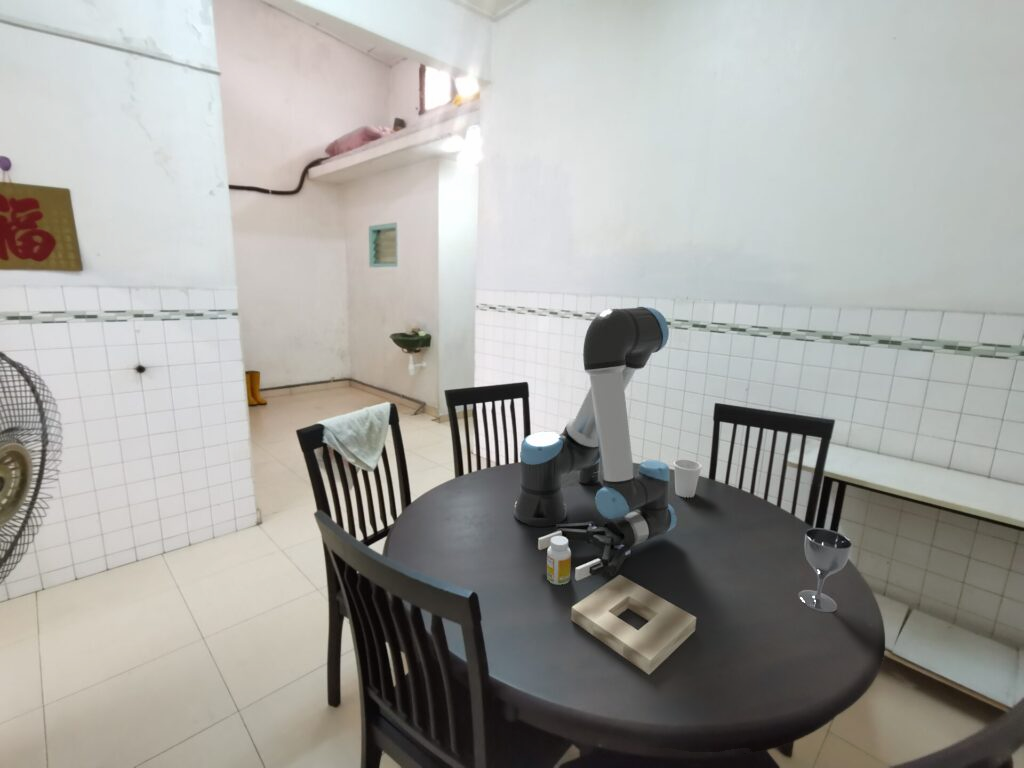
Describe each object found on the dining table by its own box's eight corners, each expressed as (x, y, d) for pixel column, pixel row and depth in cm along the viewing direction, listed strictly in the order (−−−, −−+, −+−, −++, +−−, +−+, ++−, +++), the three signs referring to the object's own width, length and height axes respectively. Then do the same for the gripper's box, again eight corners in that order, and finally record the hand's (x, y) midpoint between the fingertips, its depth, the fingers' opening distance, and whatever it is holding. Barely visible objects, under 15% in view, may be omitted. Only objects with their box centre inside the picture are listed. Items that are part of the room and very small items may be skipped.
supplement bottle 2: (598, 486, 156) (600, 452, 154) (577, 484, 158) (579, 450, 155) (599, 478, 163) (600, 444, 160) (579, 476, 164) (580, 443, 161)
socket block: (571, 619, 96) (571, 607, 95) (619, 586, 107) (619, 574, 106) (649, 674, 83) (650, 660, 82) (694, 630, 93) (696, 617, 93)
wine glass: (840, 619, 97) (852, 553, 93) (795, 604, 101) (805, 541, 97) (839, 597, 103) (850, 534, 100) (796, 584, 107) (806, 524, 104)
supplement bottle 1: (572, 573, 111) (573, 536, 109) (567, 587, 106) (568, 548, 104) (549, 569, 113) (550, 532, 110) (543, 582, 108) (544, 544, 106)
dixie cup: (702, 499, 148) (706, 469, 145) (675, 499, 148) (678, 469, 145) (693, 487, 156) (696, 459, 153) (667, 487, 156) (670, 458, 153)
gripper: (664, 571, 108) (593, 605, 97) (590, 523, 129) (525, 547, 118) (666, 541, 107) (595, 572, 96) (591, 498, 127) (525, 519, 116)
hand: (556, 558), depth 107 cm, fingers open, 13 cm apart
